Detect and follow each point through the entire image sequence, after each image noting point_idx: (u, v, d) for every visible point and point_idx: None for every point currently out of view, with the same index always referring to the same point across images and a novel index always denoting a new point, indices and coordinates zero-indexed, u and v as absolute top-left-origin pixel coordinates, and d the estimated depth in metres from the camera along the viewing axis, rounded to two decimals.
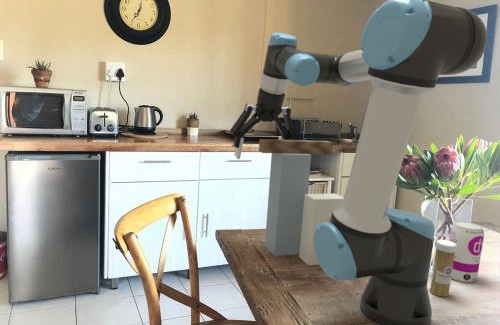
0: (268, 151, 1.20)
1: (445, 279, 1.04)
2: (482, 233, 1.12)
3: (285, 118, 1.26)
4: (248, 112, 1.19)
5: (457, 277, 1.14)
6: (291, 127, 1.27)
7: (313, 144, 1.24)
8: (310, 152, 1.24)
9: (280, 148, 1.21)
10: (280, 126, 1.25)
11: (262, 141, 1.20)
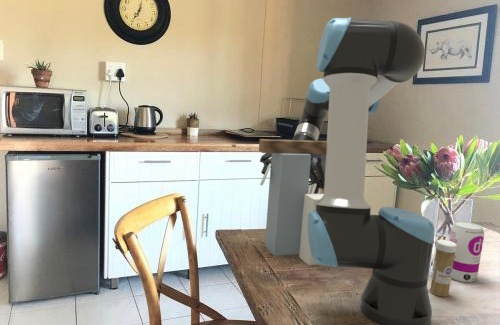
0: (268, 151, 1.20)
1: (445, 279, 1.04)
2: (482, 233, 1.12)
3: (316, 169, 1.31)
4: None
5: (457, 277, 1.14)
6: (323, 175, 1.29)
7: (313, 144, 1.24)
8: (310, 152, 1.24)
9: (280, 148, 1.21)
10: (311, 170, 1.29)
11: (262, 141, 1.20)
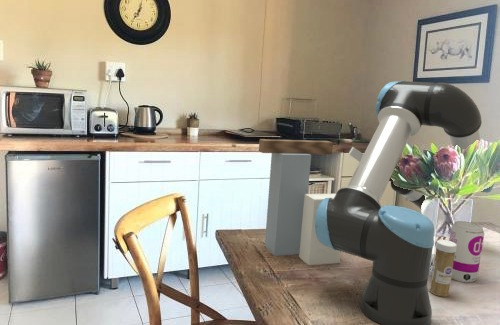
0: (268, 151, 1.20)
1: (445, 279, 1.04)
2: (482, 233, 1.12)
3: None
4: None
5: (457, 277, 1.14)
6: None
7: (313, 144, 1.24)
8: (310, 152, 1.24)
9: (280, 148, 1.21)
10: None
11: (262, 141, 1.20)
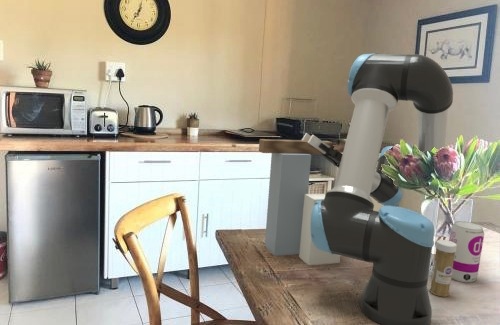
0: (268, 151, 1.20)
1: (445, 279, 1.04)
2: (482, 233, 1.12)
3: None
4: None
5: (457, 277, 1.14)
6: None
7: None
8: (310, 152, 1.24)
9: (280, 148, 1.21)
10: None
11: (262, 141, 1.20)
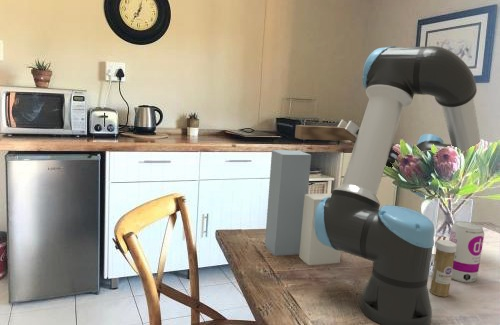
0: (305, 137, 1.16)
1: (445, 279, 1.04)
2: (482, 233, 1.12)
3: None
4: None
5: (457, 277, 1.14)
6: None
7: None
8: (347, 139, 1.20)
9: (317, 134, 1.17)
10: None
11: (299, 127, 1.16)
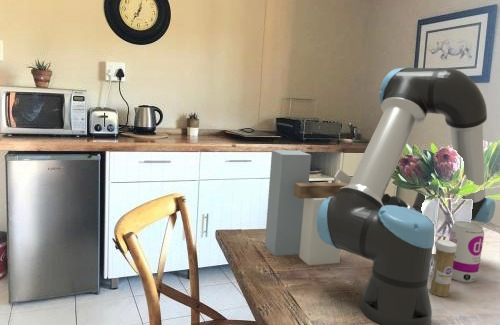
0: (304, 196, 1.16)
1: (445, 279, 1.04)
2: (482, 233, 1.12)
3: None
4: None
5: (457, 277, 1.14)
6: None
7: None
8: None
9: (316, 192, 1.17)
10: None
11: (298, 186, 1.16)
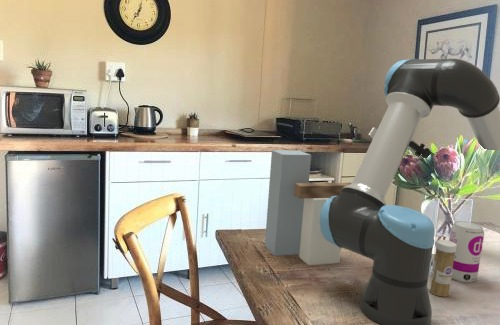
0: (304, 196, 1.16)
1: (445, 279, 1.04)
2: (482, 233, 1.12)
3: None
4: None
5: (457, 277, 1.14)
6: None
7: None
8: None
9: (316, 192, 1.17)
10: None
11: (298, 186, 1.16)
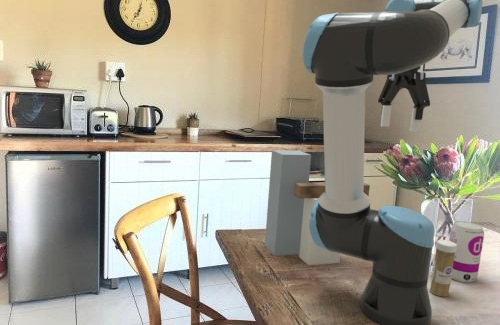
0: (304, 196, 1.16)
1: (445, 279, 1.04)
2: (482, 233, 1.12)
3: None
4: (387, 78, 1.29)
5: (457, 277, 1.14)
6: (420, 93, 1.16)
7: None
8: None
9: (316, 192, 1.17)
10: (410, 92, 1.19)
11: (298, 186, 1.16)
